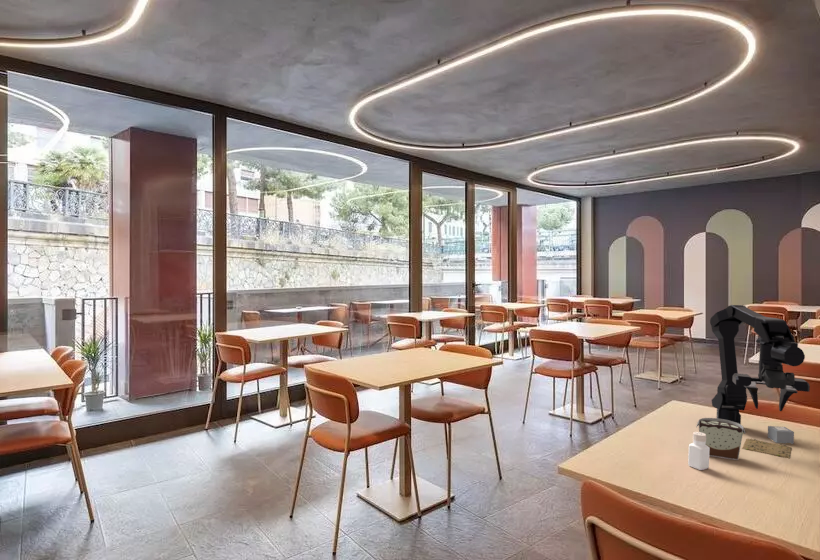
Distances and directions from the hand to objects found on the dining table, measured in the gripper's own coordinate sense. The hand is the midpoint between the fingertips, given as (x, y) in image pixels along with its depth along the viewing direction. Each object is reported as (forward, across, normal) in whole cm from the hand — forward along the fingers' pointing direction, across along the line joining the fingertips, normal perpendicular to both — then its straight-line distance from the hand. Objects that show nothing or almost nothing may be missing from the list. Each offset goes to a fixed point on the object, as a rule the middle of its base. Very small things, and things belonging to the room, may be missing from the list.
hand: (768, 409), depth 155 cm
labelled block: (+12, +6, +10) cm, 17 cm away
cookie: (+13, 0, 0) cm, 13 cm away
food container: (+12, -15, -12) cm, 23 cm away
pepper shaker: (+12, -22, -26) cm, 36 cm away
